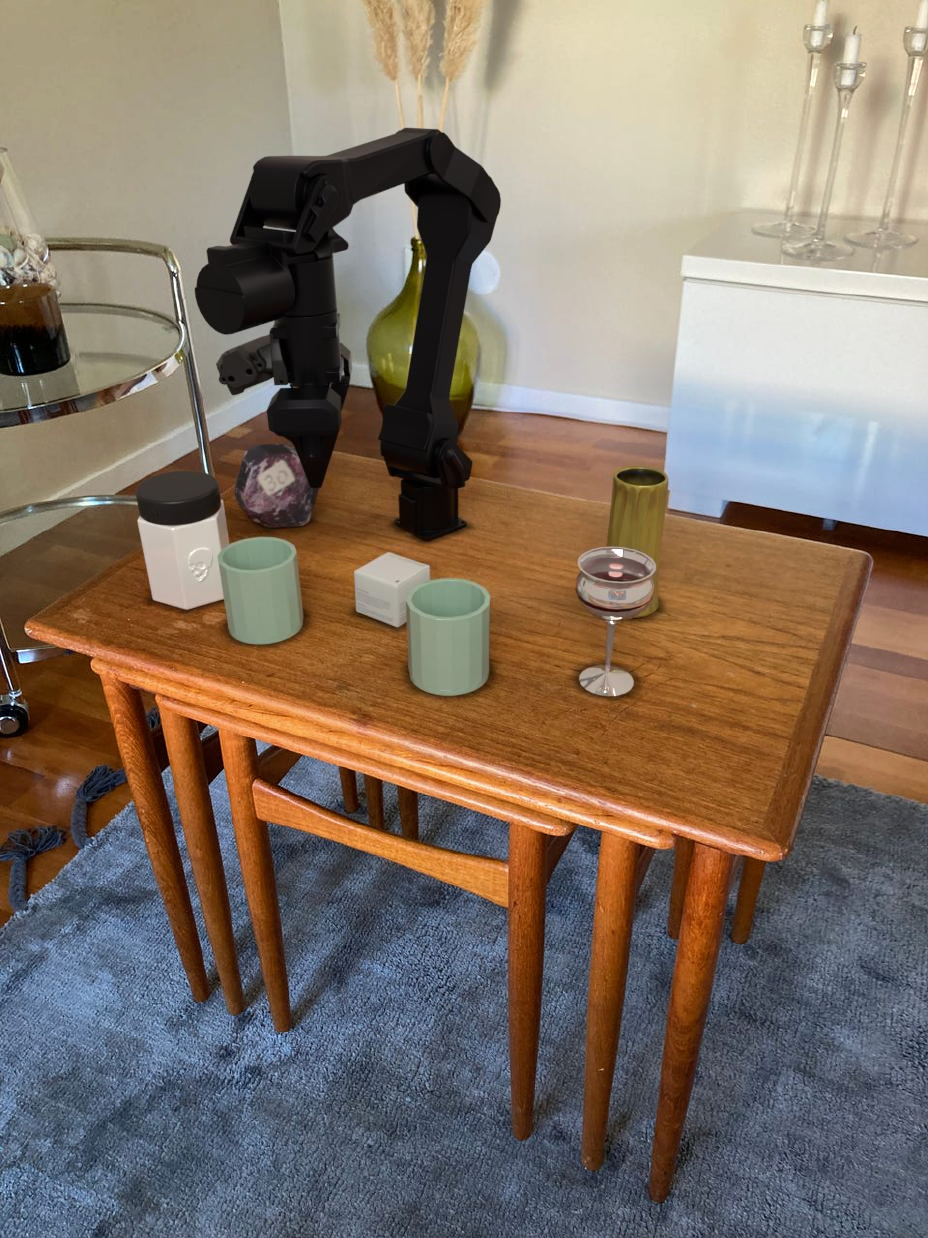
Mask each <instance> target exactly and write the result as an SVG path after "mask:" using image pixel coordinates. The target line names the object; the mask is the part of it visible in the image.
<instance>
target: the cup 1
mask: <svg viewBox="0 0 928 1238" xmlns="http://www.w3.org/2000/svg"><path fill="white" fill-rule="evenodd" d="M217 558H218V565H219V571H220V578H221V584H222V591H223V598H224V599H223V605H224V610H225V617H226V624H227V629H228V633H229V635H230V636H231V637H232V638H233V639H234V640H236V641H238V642H241V643H244V644H248V645H270V644H276V643H279V642H282V641H286V640H288V639H291V638H292V637H294V636H295V635H296V634H298V633H299V632H300V631H301V629H302V627H303V626H304V607H303V600H302V590H301V579H300V571H299V570H300V569H299V561H298V552H297V549H296V546H295V545H294V544H293V543H292V542H290V541H288V540H287V539H283V538H279V537H275V536H255V537H247V538H243V539H239V540H237V541H234V542H231V543H229V545H228V546H226V547H225V548H223V549H222V550H221V551H220V553H219V554H218V556H217Z"/></svg>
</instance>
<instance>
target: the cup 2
mask: <svg viewBox="0 0 928 1238" xmlns="http://www.w3.org/2000/svg"><path fill="white" fill-rule="evenodd" d="M491 598H492V597H491V594H490V593H489V591H488V590H487V588H486V587H485V586H483V585H481V584H479V583H477V582H476V581H472V580H468V579H464V578H460V577H459V578H457V577H441V578H435V579H430V580H428V581H426V582H423V583H421V584H418V585H416V586H415V587H414V588H413V589H411V590H410V591H409V592H408V594H407V598H406V619H407V622H406V643H407V668H408V674H409V679H410V680H411V682H412V683H413V685H414V686H415V687H416V688H418V689H419V690H421V691H423V692H425V693H428V694H431V695H435V696H436V695H437V696H444V697H445V696H446V697H455V696H461V695H466V694H469V693H472V692H475V691H476V690H478V689H480V688H481V687H483V686H484V684H486V682H487V681H488V679H489V677H490V666H491V655H490V654H491V603H492V602H491V600H492V599H491Z"/></svg>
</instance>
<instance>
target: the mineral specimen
mask: <svg viewBox="0 0 928 1238" xmlns="http://www.w3.org/2000/svg"><path fill="white" fill-rule="evenodd" d="M319 489H320V488H311V487H310V486H309V483H308V480H307V478H306V475H305V473H304V470H303V468H302V465H301V462H300V460H299V457H298V455H297V452H296V450H295V448H294V446H291V445H290V444H286V443H266V444H258V445H252V446H249V448H248V449H247V450H246V451H245V452H244V455H243V457H242V460H241V464H240V466H239V471H238V474H237V477H236V481H235V484H234V490H233V491H234V497H235V501H236V503H237V504H238V506H239V507H240V508H241V510H242V511H243V512H244V513H245V514H246V515H247V516H248V518H249V519H251V521H252V522H254V523H257V524H260V525H262V526H263V527H266V528H271V529H278V528H295V527H303V526H305V525H307V524H308V523H309V522H311V518H312V515H313V512H314V508H315V506H316V501H317V499H318V498H317V497H318V493H319Z"/></svg>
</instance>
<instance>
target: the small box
mask: <svg viewBox="0 0 928 1238" xmlns="http://www.w3.org/2000/svg"><path fill="white" fill-rule="evenodd" d="M428 580H431V565H429V564H426V563H423V562H419V561H416V560H414V559H411V558H407V557H404V556H402V555H399V554H397V553H394V552H390V551H387V552H385V553H384V554H381V555H380V556H378V557H376V558H375V559H373V560H371V561H369V562H368V563H366V564H364V565H363V566H360V567H359V568H357V569H356V570H354V571H353V581H354V583H353V584H354V596H355V612H357V613H359V614H361V615H364V616H366V617H369V618H371V619H375V620H377V621H380V622H382V623H385V624H387V625H390V626H393V627H394V628H397V629H398V628H400V627H401V626H403V625H404V624H407V619H406V598H407V594H408V592H409V591H410V590H411V589H413V588H414V587H415V586H416V585H418V584H421V583H423V582H426V581H428Z"/></svg>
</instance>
